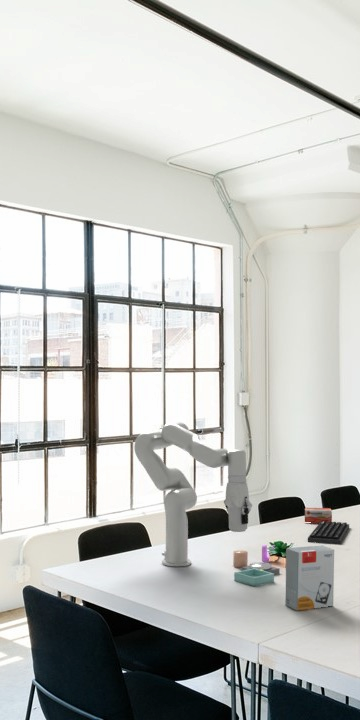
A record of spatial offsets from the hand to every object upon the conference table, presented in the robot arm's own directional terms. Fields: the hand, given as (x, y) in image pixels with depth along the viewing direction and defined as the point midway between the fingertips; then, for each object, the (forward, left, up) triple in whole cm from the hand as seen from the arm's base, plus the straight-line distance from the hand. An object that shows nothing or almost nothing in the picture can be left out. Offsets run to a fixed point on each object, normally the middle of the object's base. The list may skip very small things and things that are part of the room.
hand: (238, 522), depth 298 cm
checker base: (+6, +7, -20) cm, 22 cm away
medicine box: (-55, +115, -21) cm, 129 cm away
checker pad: (+6, +7, -18) cm, 21 cm away
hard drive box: (+49, -12, -21) cm, 55 cm away
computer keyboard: (-29, +93, -21) cm, 99 cm away
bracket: (-9, +29, -21) cm, 37 cm away
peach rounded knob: (-7, +8, -20) cm, 23 cm away
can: (0, 0, -4) cm, 4 cm away
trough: (+14, -4, -20) cm, 25 cm away
